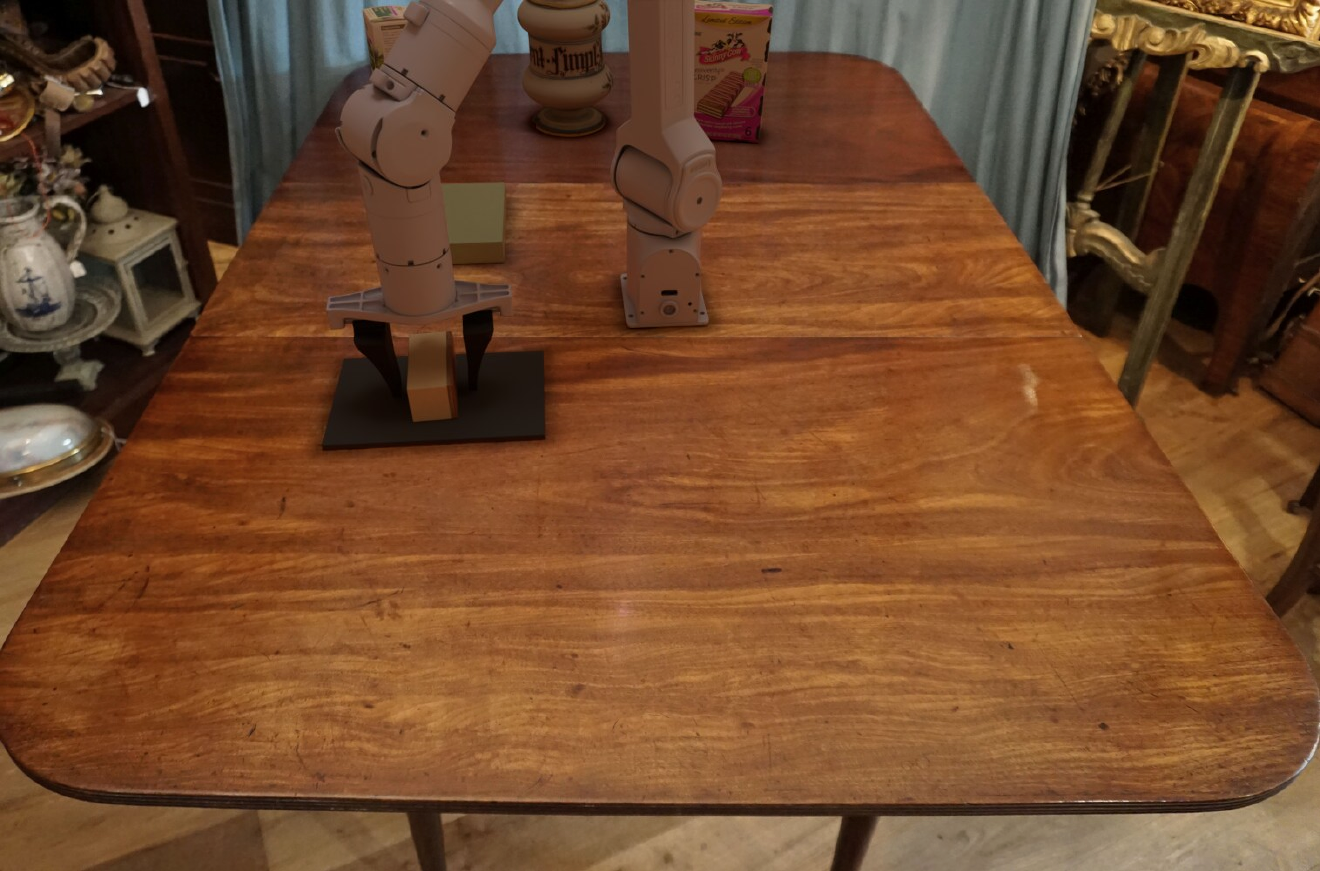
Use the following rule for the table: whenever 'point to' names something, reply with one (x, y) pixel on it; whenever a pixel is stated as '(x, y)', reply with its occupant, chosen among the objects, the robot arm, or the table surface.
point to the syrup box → (382, 31)
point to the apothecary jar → (566, 63)
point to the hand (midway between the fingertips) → (435, 387)
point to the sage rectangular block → (476, 221)
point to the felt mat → (486, 414)
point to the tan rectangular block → (432, 376)
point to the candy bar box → (730, 68)
